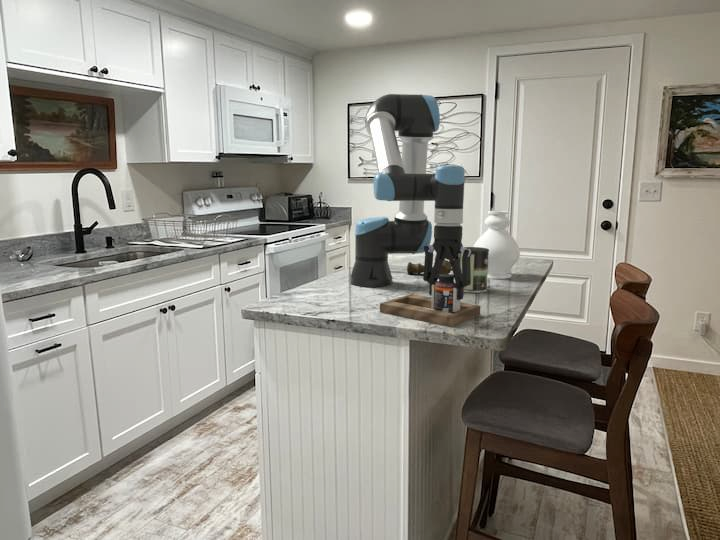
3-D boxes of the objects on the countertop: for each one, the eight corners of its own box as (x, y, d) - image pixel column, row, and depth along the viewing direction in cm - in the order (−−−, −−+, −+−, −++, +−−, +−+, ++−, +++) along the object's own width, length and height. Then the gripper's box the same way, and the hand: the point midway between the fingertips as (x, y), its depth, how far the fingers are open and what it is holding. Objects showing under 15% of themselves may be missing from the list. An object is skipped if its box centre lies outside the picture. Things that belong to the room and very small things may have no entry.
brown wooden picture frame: (379, 311, 149) (379, 303, 149) (411, 301, 162) (411, 293, 161) (451, 326, 135) (452, 317, 135) (480, 314, 148) (480, 305, 147)
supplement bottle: (450, 319, 141) (452, 277, 139) (430, 316, 144) (431, 275, 142) (459, 314, 146) (460, 274, 144) (439, 311, 149) (440, 272, 147)
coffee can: (486, 287, 183) (488, 247, 181) (487, 293, 174) (489, 251, 171) (456, 286, 185) (458, 246, 183) (455, 292, 176) (457, 250, 173)
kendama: (410, 273, 213) (460, 275, 207) (405, 278, 204) (457, 280, 198) (410, 258, 212) (460, 259, 205) (404, 263, 202) (457, 264, 196)
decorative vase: (490, 281, 193) (493, 213, 189) (462, 273, 209) (464, 210, 205) (528, 278, 200) (532, 212, 196) (498, 270, 216) (501, 209, 212)
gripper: (410, 223, 144) (408, 306, 148) (474, 227, 132) (470, 317, 136) (425, 221, 150) (423, 301, 154) (487, 225, 138) (483, 311, 142)
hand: (445, 308), depth 145 cm, fingers closed on supplement bottle, 6 cm apart
